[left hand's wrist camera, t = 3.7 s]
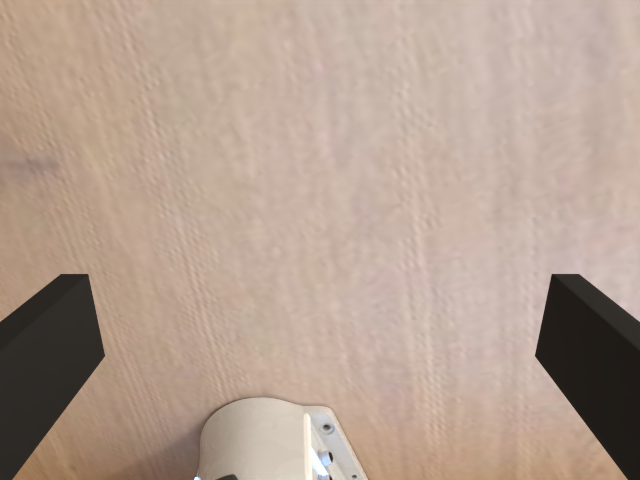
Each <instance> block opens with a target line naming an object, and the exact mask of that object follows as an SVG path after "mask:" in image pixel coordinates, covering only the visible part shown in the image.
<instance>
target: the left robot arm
mask: <svg viewBox="0 0 640 480" xmlns="http://www.w3.org/2000/svg"><path fill="white" fill-rule="evenodd" d="M104 357H105V354H104V349H103V344H102V339H101V334H100V329H99V324H98V320H97V315H96V310H95V305H94V300H93V295H92V291H91V286H90V281H89V276H88V274H61V275H59V276H58V277H57V278H56V279H54V280H53V281H52V282H50V283H49V284H48V285H47V286H45V287H44V288H43V289H42V290H40V291H39V292H38V293H37V294H35V295H34V296H33V297H31V298H30V299H29V300H28V301H26V302H25V303H24V304H23V305H21V306H20V307H19V308H18V309H16V310H15V311H14V312H12V313H11V314H10V315H9V316H7V317H6V318H5V319H4V320H2V321H1V322H0V480H12V479H13V478H14V476H15V475H16V474H17V472H18V471H19V470H20V468H21V467H22V466H23V464H24V463H25V462H26V461H27V459H28V458H29V457H30V455H31V454H32V453H33V451H34V450H35V449H36V447H37V446H38V445H39V443H40V442H41V441H42V439H43V438H44V437H45V435H46V434H47V433H48V431H49V430H50V429H51V427H52V426H53V425H54V423H55V422H56V421H57V419H58V418H59V417H60V415H61V414H62V413H63V411H64V410H65V409H66V407H67V406H68V405H69V403H70V402H71V401H72V399H73V398H74V397H75V395H76V394H77V393H78V391H79V390H80V389H81V387H82V386H83V385H84V383H85V382H86V381H87V379H88V378H89V377H90V375H91V374H92V373H93V371H94V370H95V369H96V367H97V366H98V365H99V363H100V362H101V361H102V359H103V358H104ZM535 357H536V358H537V359H538V361H539V362H540V363H541V365H542V366H543V367H544V369H545V370H546V371H547V373H548V374H549V375H550V377H551V378H552V379H553V381H554V382H555V383H556V385H557V386H558V387H559V389H560V390H561V391H562V393H563V394H564V395H565V397H566V398H567V399H568V401H569V402H570V403H571V405H572V406H573V407H574V409H575V410H576V411H577V413H578V414H579V415H580V417H581V418H582V419H583V421H584V422H585V423H586V425H587V426H588V427H589V429H590V430H591V431H592V433H593V434H594V435H595V437H596V438H597V439H598V441H599V442H600V443H601V445H602V446H603V447H604V449H605V450H606V451H607V453H608V454H609V455H610V457H611V458H612V459H613V461H614V462H615V463H616V464H617V466H618V467H619V468H620V470H621V471H622V472H623V474H624V475H625V476H626V478H627V479H628V480H640V322H639V321H638V320H636V319H635V318H634V317H633V316H631V315H630V314H629V313H628V312H626V311H625V310H624V309H622V308H621V307H620V306H619V305H617V304H616V303H615V302H614V301H612V300H611V299H610V298H609V297H607V296H606V295H605V294H603V293H602V292H601V291H600V290H598V289H597V288H596V287H595V286H593V285H592V284H591V283H590V282H588V281H587V280H586V279H584V278H583V277H582V276H581V275H579V274H552V276H551V281H550V286H549V291H548V295H547V300H546V305H545V310H544V315H543V320H542V324H541V329H540V334H539V339H538V344H537V349H536V354H535Z"/></svg>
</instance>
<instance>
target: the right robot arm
mask: <svg viewBox="0 0 640 480" xmlns="http://www.w3.org/2000/svg"><path fill="white" fill-rule="evenodd" d="M325 425H328V426H325ZM195 480H368V478H367V476H366V475H365V473H364V471H363V469H362V467H361V465H360V463H359V461H358V459H357V457H356V455H355V453H354V451H353V449H352V447H351V446H350V444H349V442H348V440H347V438H346V436H345V434H344V432H343V430H342V428H341V426H340V424H339V422H338V420H337V419H336V417H335V415H334V413H333V411H332V410H331V409H330V408H328V407H325V406H301V405H297V404H293V403H290V402H287V401H284V400H280V399H275V398H267V397H254V398H246V399H242V400H238V401H235V402H232V403H230V404H228V405H226V406H224V407H222V408H220V409H219V410H218V411H216V412H215V413H214V414H213V415H212V416H211V417H210V418H209V419H208V421H207V422H206V424H205V425H204V427H203V430H202V432H201V436H200V460H199V467H198V470H197V474H196V477H195Z"/></svg>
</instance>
